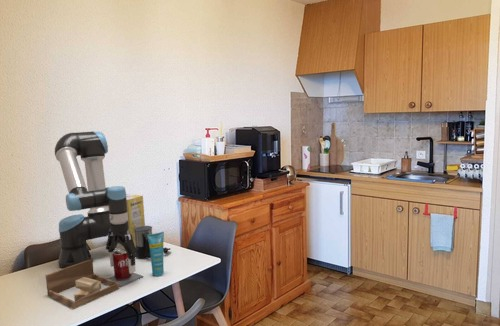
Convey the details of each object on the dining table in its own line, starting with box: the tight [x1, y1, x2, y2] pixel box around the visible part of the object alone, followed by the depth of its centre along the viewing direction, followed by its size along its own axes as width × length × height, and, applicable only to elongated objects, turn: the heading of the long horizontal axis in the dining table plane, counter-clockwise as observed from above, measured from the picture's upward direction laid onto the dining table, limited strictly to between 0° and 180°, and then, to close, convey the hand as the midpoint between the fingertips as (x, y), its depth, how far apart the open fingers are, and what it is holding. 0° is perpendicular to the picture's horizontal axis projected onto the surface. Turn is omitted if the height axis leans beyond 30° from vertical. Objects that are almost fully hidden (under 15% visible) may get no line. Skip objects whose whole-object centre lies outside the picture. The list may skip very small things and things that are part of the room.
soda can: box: [112, 248, 132, 281], centre depth 173 cm, size 7×7×12 cm
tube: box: [147, 231, 165, 277], centre depth 177 cm, size 7×5×19 cm, turn 123°
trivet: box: [106, 272, 144, 288], centre depth 174 cm, size 12×12×1 cm
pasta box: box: [108, 193, 146, 250], centre depth 217 cm, size 18×10×28 cm, turn 60°
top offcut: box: [75, 277, 99, 292], centre depth 159 cm, size 4×9×3 cm, turn 60°
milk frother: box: [134, 225, 171, 260], centre depth 202 cm, size 14×16×15 cm
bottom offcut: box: [73, 282, 103, 301], centre depth 159 cm, size 5×12×4 cm, turn 174°
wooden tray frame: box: [45, 259, 121, 310], centre depth 162 cm, size 20×20×9 cm
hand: (122, 269), depth 173 cm, fingers open, 13 cm apart
